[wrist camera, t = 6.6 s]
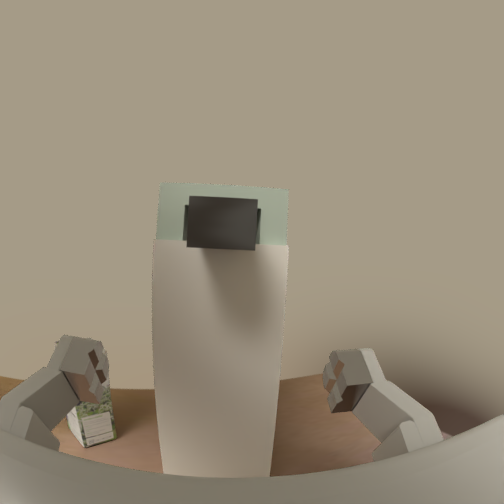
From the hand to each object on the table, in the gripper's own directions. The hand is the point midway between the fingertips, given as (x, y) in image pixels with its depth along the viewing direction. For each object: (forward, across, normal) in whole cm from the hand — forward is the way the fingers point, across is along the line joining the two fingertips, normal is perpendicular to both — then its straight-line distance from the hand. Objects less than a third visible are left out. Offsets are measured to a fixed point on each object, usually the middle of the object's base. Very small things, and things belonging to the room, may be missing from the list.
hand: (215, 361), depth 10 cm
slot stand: (+9, 0, +32) cm, 34 cm away
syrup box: (+10, +18, +33) cm, 39 cm away
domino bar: (+15, 0, +4) cm, 15 cm away
